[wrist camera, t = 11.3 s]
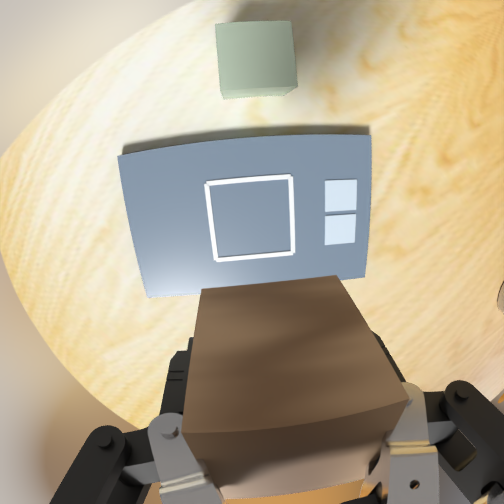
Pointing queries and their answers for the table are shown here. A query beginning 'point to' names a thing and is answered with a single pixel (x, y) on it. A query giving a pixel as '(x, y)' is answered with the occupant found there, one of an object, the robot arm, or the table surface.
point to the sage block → (256, 59)
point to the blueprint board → (248, 210)
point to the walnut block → (286, 388)
